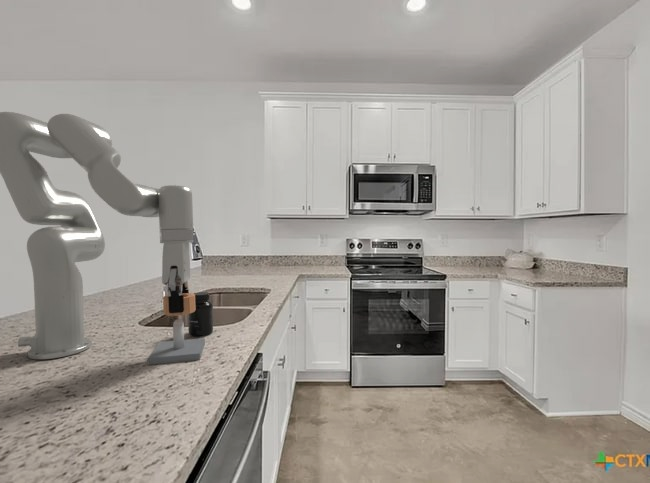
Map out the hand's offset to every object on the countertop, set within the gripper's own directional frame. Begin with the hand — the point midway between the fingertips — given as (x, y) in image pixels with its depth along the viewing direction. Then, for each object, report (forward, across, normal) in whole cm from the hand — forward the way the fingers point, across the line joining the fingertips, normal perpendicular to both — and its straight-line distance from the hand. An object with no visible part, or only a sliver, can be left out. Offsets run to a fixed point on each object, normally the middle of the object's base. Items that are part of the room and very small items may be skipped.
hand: (179, 308), depth 80 cm
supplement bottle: (+12, -15, +3) cm, 19 cm away
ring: (+1, 0, 0) cm, 1 cm away
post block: (+11, 0, 0) cm, 11 cm away
